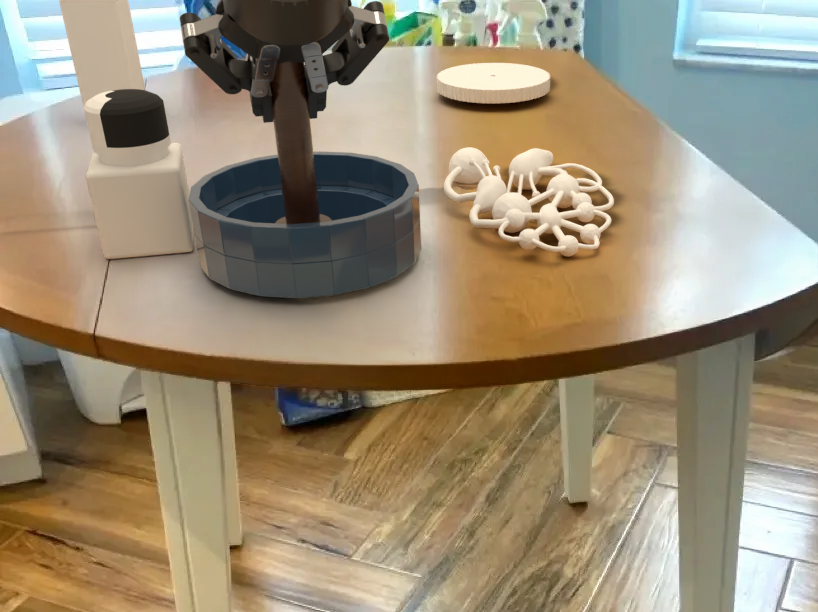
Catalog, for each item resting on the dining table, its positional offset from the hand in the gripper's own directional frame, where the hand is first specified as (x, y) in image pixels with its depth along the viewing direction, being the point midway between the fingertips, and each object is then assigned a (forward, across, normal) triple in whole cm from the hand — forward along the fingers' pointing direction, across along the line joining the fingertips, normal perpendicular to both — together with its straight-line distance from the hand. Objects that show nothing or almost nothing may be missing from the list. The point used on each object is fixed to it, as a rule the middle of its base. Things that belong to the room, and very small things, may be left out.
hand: (287, 108), depth 70 cm
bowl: (+9, -1, +8) cm, 12 cm away
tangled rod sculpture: (+12, -21, +5) cm, 25 cm away
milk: (+43, +16, -26) cm, 53 cm away
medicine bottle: (+15, +12, +3) cm, 19 cm away
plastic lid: (+41, -29, -24) cm, 55 cm away
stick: (+5, 0, +8) cm, 9 cm away
